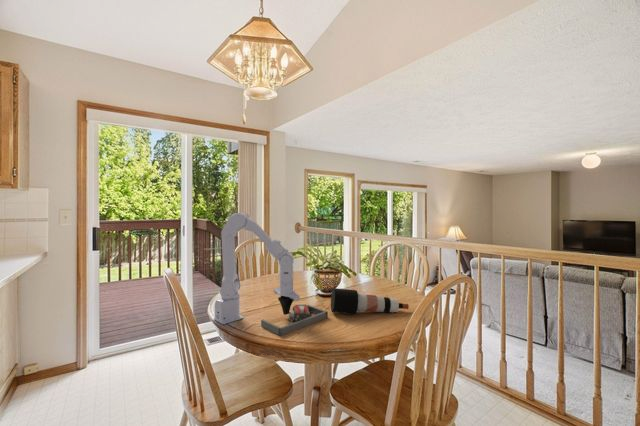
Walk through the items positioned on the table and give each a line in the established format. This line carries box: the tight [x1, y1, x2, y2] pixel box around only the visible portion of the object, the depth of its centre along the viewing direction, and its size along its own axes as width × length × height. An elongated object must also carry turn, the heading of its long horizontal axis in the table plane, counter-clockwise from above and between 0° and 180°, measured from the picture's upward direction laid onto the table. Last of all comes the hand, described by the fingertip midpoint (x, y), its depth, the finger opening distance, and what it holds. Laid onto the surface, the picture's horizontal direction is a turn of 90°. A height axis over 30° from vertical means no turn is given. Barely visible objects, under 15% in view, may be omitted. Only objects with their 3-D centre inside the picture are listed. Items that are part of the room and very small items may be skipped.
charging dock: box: [260, 304, 328, 337], centre depth 120 cm, size 25×12×2 cm, turn 136°
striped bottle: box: [330, 287, 410, 315], centre depth 131 cm, size 10×34×10 cm, turn 95°
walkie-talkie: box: [288, 303, 311, 324], centre depth 123 cm, size 9×4×20 cm
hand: (286, 313), depth 124 cm, fingers closed
